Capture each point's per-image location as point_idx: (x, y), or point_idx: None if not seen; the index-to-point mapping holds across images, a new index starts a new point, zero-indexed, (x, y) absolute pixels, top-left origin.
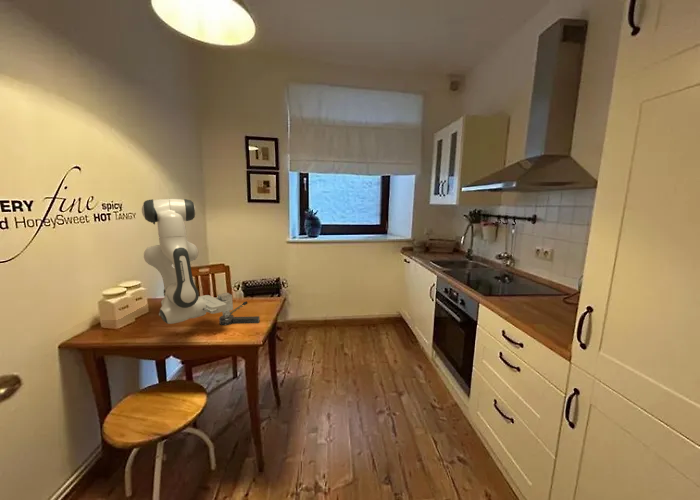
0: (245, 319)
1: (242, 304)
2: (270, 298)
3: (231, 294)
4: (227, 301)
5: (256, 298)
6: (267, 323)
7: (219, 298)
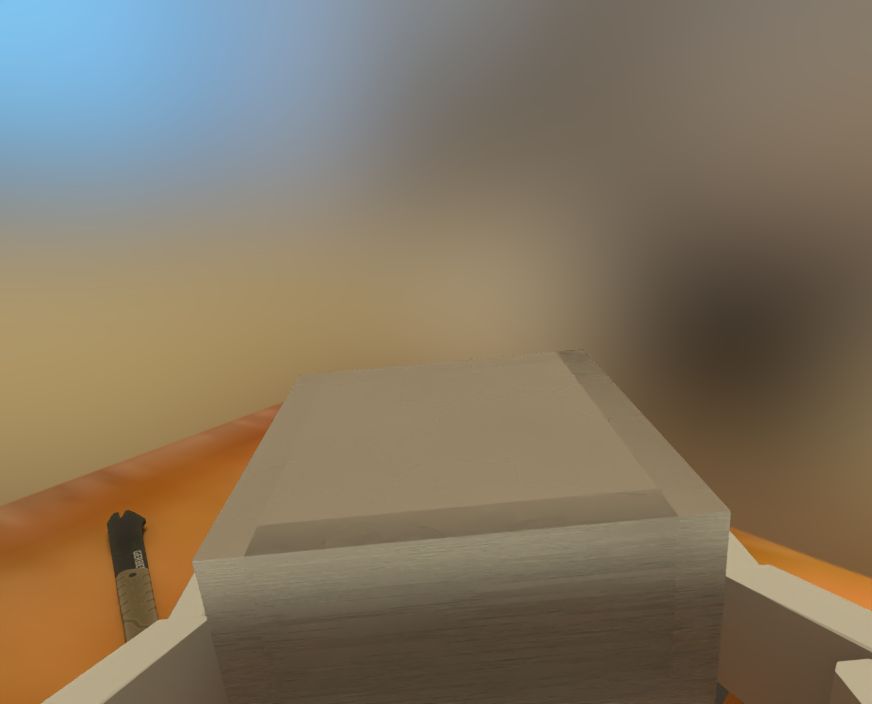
0: (730, 695)
1: (116, 557)
2: (256, 417)
3: (560, 351)
4: (752, 573)
5: (143, 459)
6: (825, 568)
7: (430, 655)
